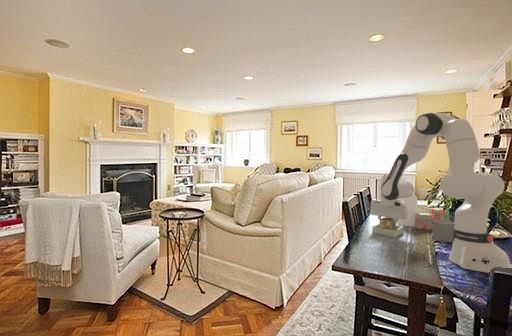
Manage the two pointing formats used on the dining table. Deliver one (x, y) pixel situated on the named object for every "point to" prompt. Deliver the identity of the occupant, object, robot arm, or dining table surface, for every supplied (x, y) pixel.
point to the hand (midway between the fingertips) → (387, 224)
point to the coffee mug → (443, 230)
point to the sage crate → (387, 231)
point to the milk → (409, 211)
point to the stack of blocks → (430, 218)
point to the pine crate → (387, 223)
